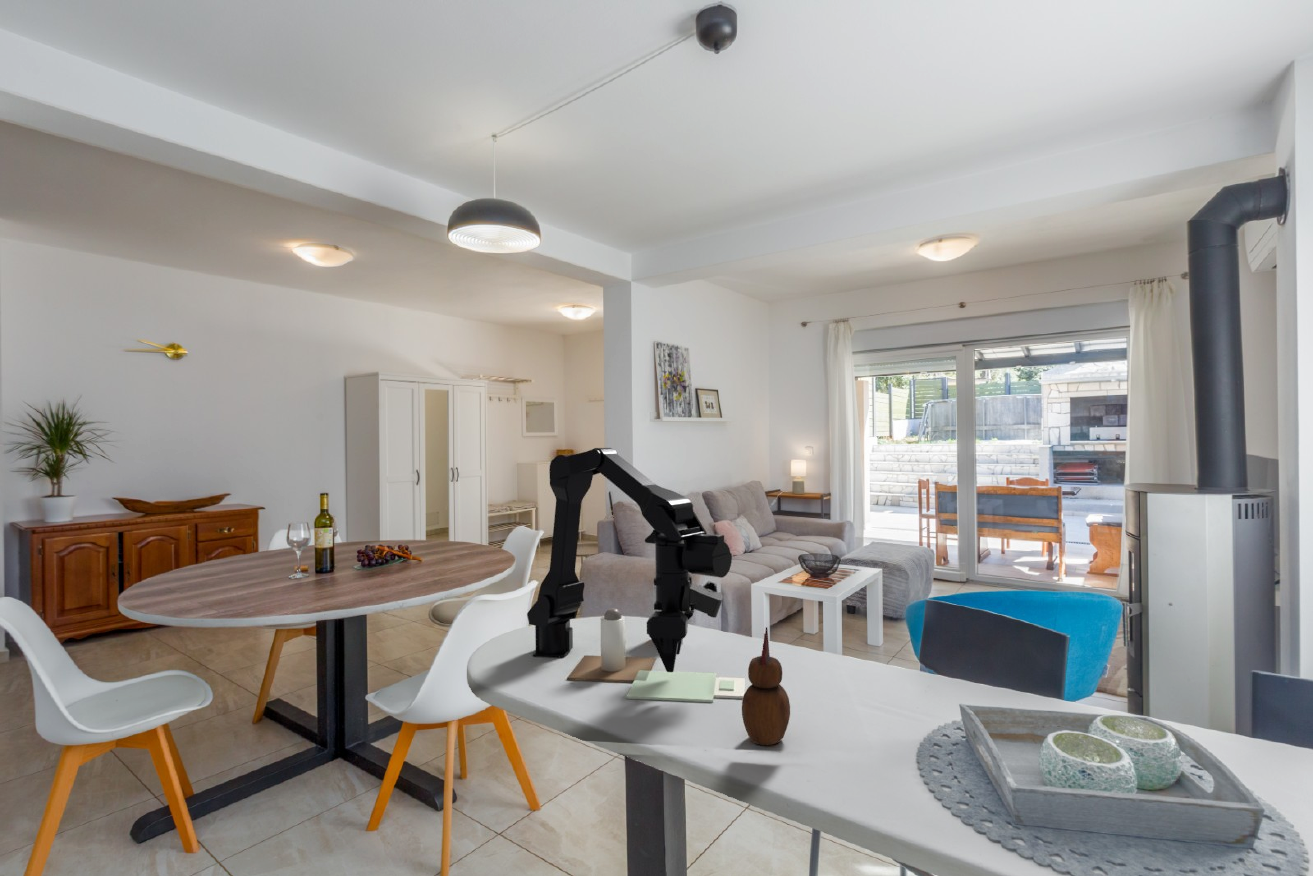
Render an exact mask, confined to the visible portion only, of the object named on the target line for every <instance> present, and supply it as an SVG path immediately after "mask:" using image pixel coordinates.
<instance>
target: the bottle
mask: <svg viewBox="0 0 1313 876" xmlns="http://www.w3.org/2000/svg"><path fill="white" fill-rule="evenodd" d="M600 656H601V669H602V670H604V671H610V672H615V671H621V670H623V669H625V667H626V660H625V657H626V617H625V616H624V615H622V613H621V611H620V609H619V608H616V607H610V608H608V609H607V610H606V611H605V612H604V615H603V616H601V617H600Z"/></svg>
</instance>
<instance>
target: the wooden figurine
mask: <svg viewBox="0 0 1313 876" xmlns="http://www.w3.org/2000/svg"><path fill="white" fill-rule="evenodd" d="M768 630H769V629H768V627H767V626H766V627H765V633H763V644H762V651H761V655H759V656H755V657H753V658H751V660H750V661H749V664H748V670H747V676H748V680H749V682H750V683H751V685H749V686H748V687H747V689H746V690H745V694H744V697H743V699H742V702H741V716H742V723H743V726H744V728H745V731H746V733H747V735H748V737H749V739H750V740H751V742H753V743H755V744H757V745H761V746H772V745H776V744H777V743H779V742H780V741H782V740H783V738H785V737H784V736H785V735H786V731H787V729H788V726H789V721H790V717H791V703H790V698H789V696H788V693H787V691H786V690H785V688H784V687H783V686H782V685H781V682H782V680H783V667H782V663H781V662H780V661H779V660H778V659H777V658H776V657H773V656H771V655H770V645H769V643H770V642H769V633H768V632H769V631H768Z"/></svg>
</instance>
